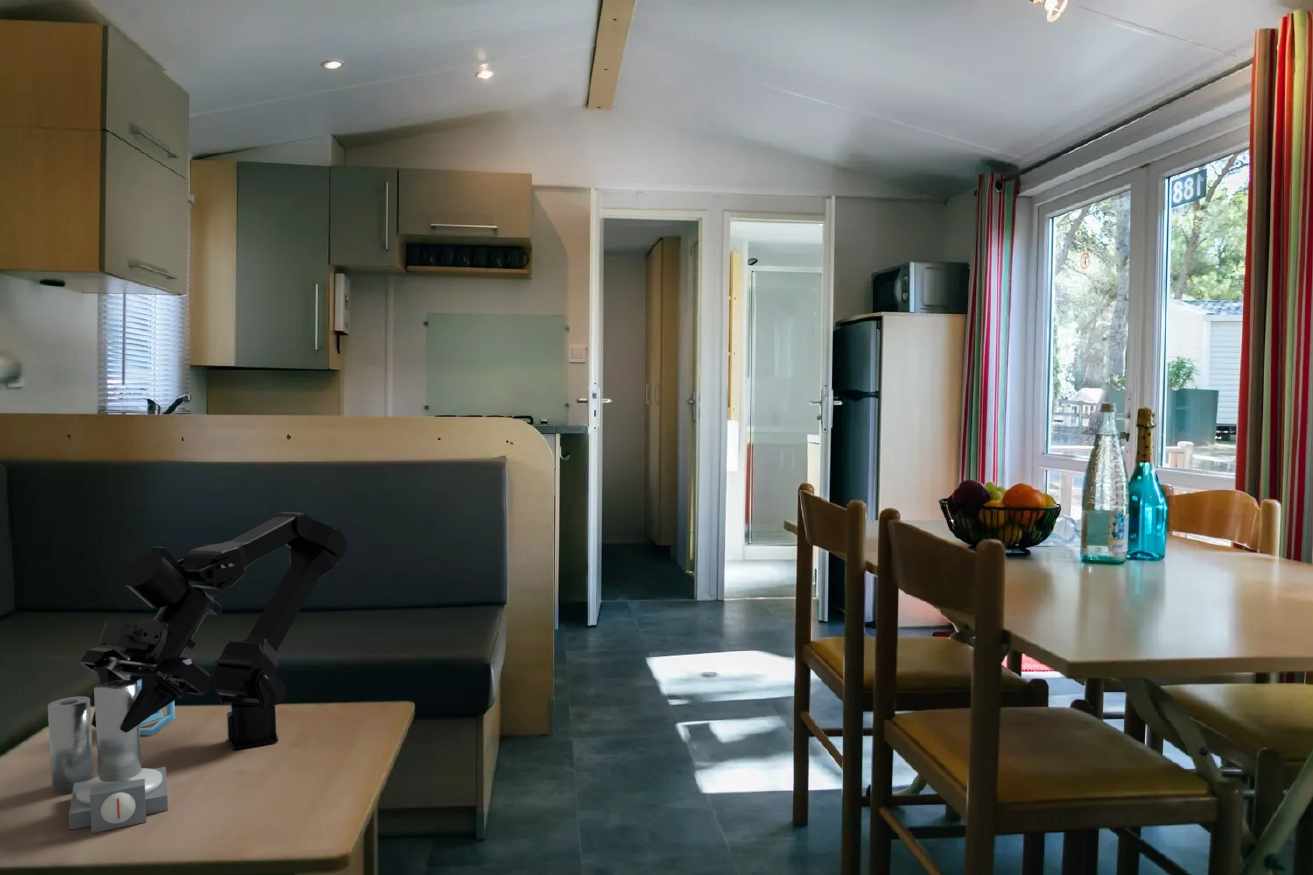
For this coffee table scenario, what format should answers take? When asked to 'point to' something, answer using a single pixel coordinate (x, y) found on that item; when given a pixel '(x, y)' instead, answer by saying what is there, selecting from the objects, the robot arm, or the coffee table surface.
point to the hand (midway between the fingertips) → (108, 728)
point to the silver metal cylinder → (116, 731)
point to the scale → (118, 801)
